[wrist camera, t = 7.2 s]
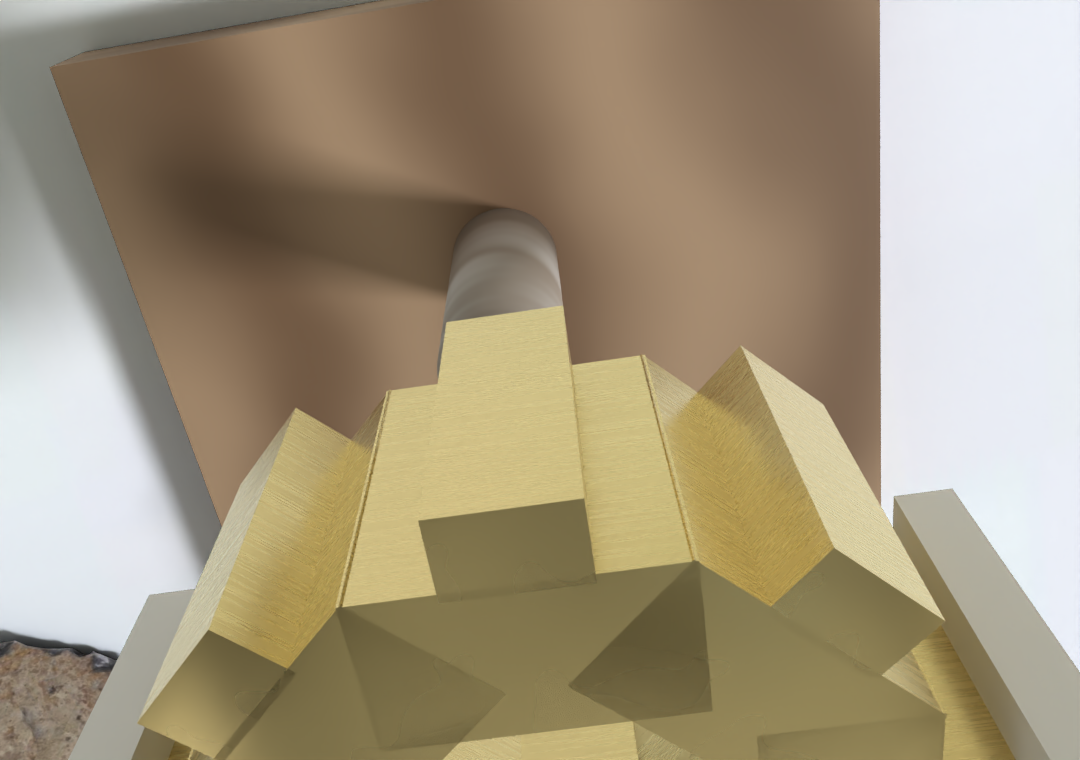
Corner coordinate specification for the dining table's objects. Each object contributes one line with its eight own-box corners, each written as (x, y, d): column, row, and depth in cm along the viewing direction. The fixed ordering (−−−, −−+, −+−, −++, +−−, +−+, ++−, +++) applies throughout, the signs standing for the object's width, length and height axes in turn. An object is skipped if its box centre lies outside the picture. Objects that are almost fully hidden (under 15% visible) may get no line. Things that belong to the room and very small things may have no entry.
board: (323, 723, 34) (274, 954, 26) (84, 52, 23) (-101, 132, 16) (860, 649, 33) (959, 866, 26) (850, -82, 23) (1006, -59, 16)
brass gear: (317, 862, 16) (262, 1142, 13) (128, 367, 12) (-32, 580, 9) (883, 796, 16) (988, 1065, 12) (895, 258, 12) (1062, 434, 8)
